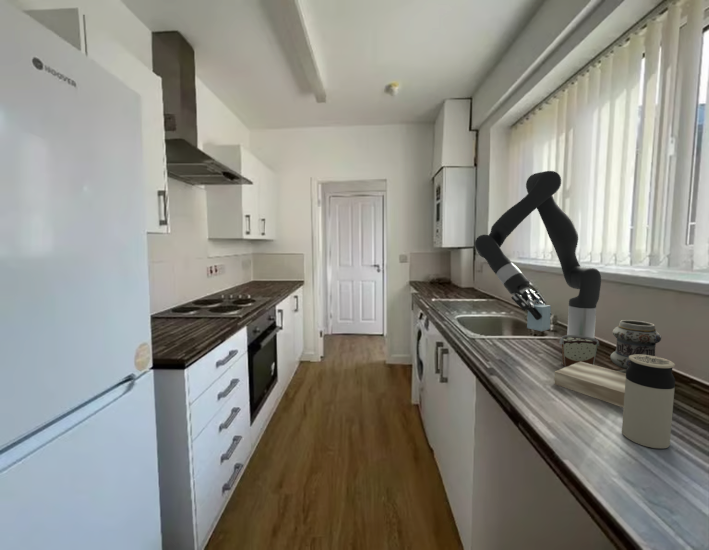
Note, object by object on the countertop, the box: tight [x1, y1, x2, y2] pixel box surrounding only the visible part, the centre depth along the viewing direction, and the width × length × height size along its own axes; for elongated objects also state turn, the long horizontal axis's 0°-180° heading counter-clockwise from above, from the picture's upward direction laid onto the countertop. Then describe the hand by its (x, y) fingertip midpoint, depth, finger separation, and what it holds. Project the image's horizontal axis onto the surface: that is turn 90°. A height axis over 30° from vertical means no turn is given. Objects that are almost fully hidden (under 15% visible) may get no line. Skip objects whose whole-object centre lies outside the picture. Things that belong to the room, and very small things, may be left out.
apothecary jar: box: [610, 319, 662, 373], centre depth 106 cm, size 12×12×18 cm
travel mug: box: [621, 354, 676, 449], centre depth 73 cm, size 8×8×18 cm
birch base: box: [553, 361, 626, 409], centre depth 99 cm, size 16×18×4 cm
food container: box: [559, 334, 600, 368], centre depth 119 cm, size 12×6×10 cm, turn 84°
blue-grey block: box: [526, 303, 552, 332], centre depth 114 cm, size 5×5×8 cm
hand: (544, 317), depth 112 cm, fingers closed on blue-grey block, 5 cm apart
